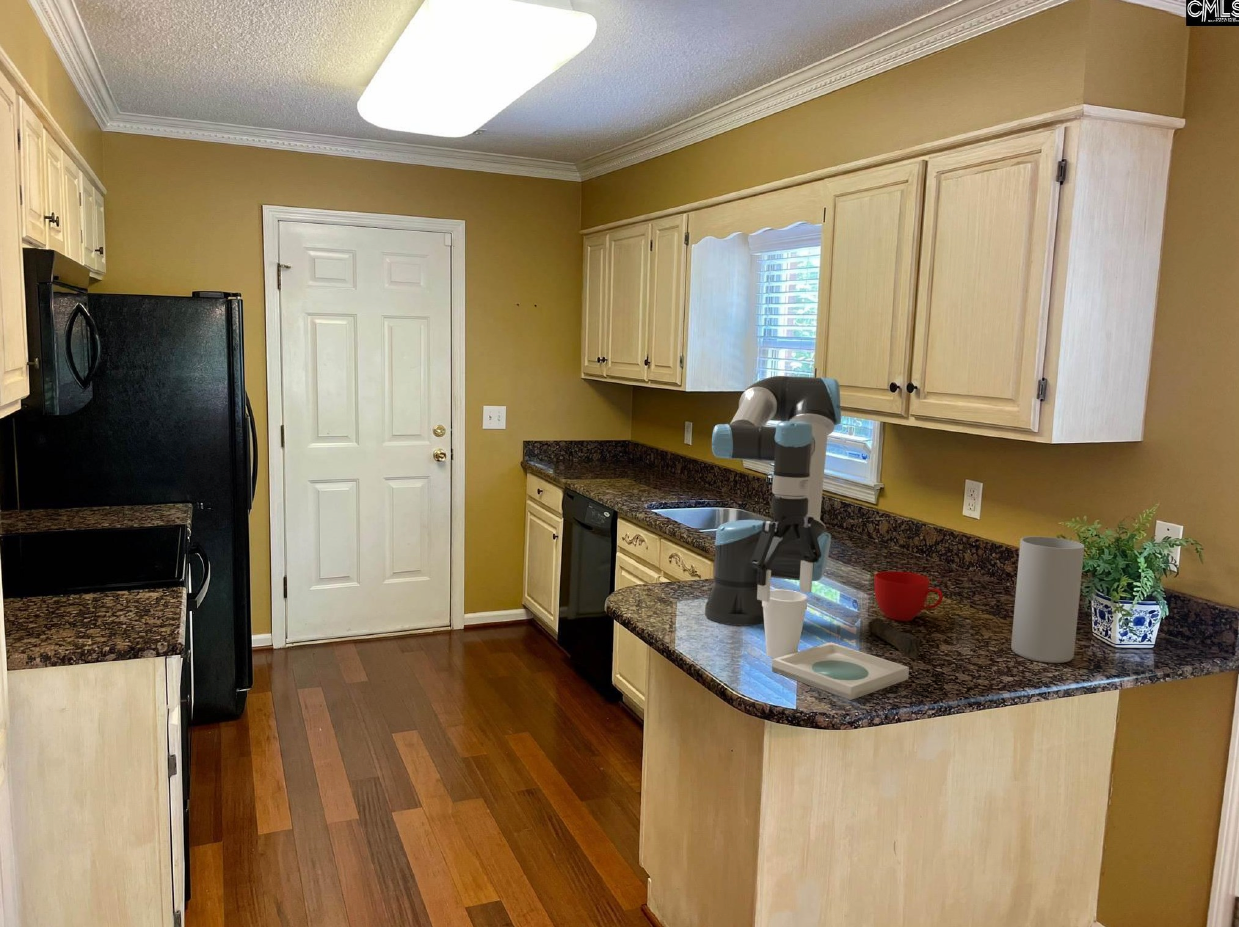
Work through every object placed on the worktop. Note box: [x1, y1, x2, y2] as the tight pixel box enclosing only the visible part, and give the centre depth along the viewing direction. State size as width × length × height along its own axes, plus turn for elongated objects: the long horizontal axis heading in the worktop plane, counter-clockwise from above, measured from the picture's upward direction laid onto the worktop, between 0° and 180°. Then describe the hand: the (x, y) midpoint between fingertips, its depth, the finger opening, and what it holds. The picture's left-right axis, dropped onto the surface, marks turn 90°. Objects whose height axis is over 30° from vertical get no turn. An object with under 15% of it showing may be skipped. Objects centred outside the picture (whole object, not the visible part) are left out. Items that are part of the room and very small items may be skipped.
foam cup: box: [762, 588, 808, 659], centre depth 198 cm, size 10×9×13 cm
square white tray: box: [771, 641, 910, 701], centre depth 187 cm, size 19×19×2 cm
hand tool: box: [868, 617, 921, 661], centre depth 207 cm, size 19×4×5 cm, turn 10°
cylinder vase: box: [1010, 536, 1085, 664], centre depth 203 cm, size 12×12×25 cm
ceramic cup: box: [873, 570, 944, 622], centre depth 228 cm, size 13×17×10 cm
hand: (784, 596), depth 197 cm, fingers open, 13 cm apart
